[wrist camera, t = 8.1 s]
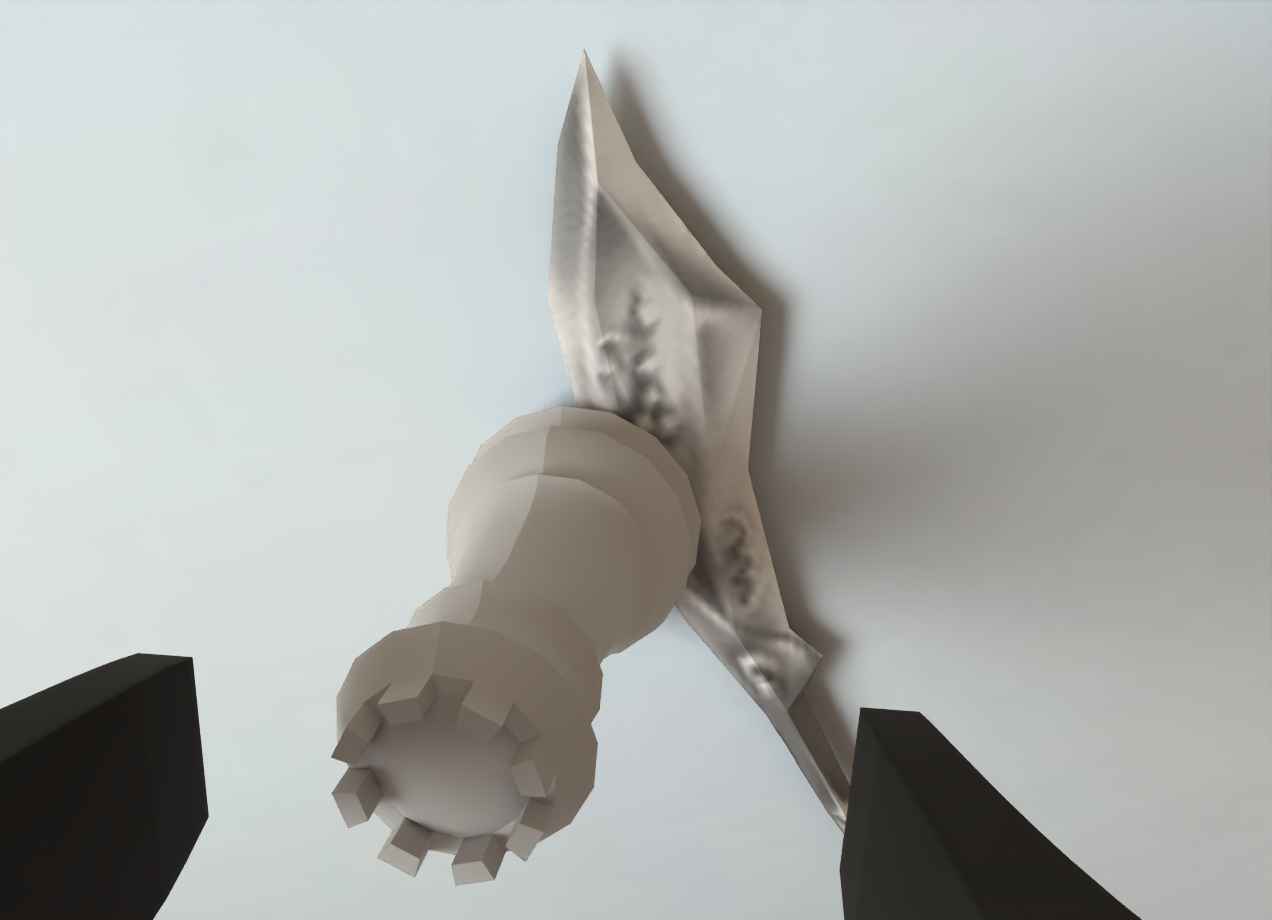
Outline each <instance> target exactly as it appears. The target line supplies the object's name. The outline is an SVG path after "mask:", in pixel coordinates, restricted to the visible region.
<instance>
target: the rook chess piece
mask: <svg viewBox="0 0 1272 920" xmlns="http://www.w3.org/2000/svg"><path fill="white" fill-rule="evenodd" d="M700 525H701V518H700V515H699V512H698V508H697V505H696V502H695V499H694V495H693V492H692V489H691V486H690V482H689V479H688V476H687V474H686V473H685V472H684V471H683V469H682V468H681V467H680V466H679V464H678V463H677V462H676V461H675V460H674V458H673V457H672V456H671V455H670V454H669V452H668V451H667V450H666V449H665V448H664V446H663V445H662V444H661V443H660V442H659V440H658V439H657V438H656V437H655V436H653V435H651V434H649V433H648V432H646V431H644V430H642V429H640V428H639V427H637V426H635V425H633V424H631V423H630V422H628V421H626V420H624V419H622V418H620V417H619V416H617V415H615V414H613V413H611V412H604V411H597V410H589V409H582V408H575V407H567V406H559V407H555V408H552V409H548V410H544V411H540V412H536V413H532V414H529V415H525V416H521V417H517V418H515V419H514V420H513V421H511V422H510V423H509V424H508V425H506V426H505V427H504V428H503V429H501V430H500V431H499V432H498V433H496V434H495V435H494V436H493V437H491V438H490V439H489V440H487V441H486V442H485V443H484V444H482V445H481V446H480V448H479V450H478V452H477V454H476V456H475V458H474V461H473V462H472V463H471V464H470V465H469V466H468V468H467V470H466V472H465V474H464V476H463V478H462V480H461V482H460V484H459V486H458V488H457V490H456V492H455V494H454V496H453V498H452V500H451V502H450V504H449V510H448V526H447V560H448V562H449V565H450V567H451V577H452V581H451V584H450V586H449V587H448V588H445V589H443V590H442V591H440V592H439V593H438V594H436V595H435V596H434V597H432V598H431V599H430V600H428V601H427V602H426V603H424V604H423V605H422V606H420V607H419V608H418V609H416V611H415V613H414V615H413V617H412V619H411V621H410V623H409V624H408V626H407V628H406V629H402V630H397V631H393V632H391V633H390V634H388V635H387V636H385V637H384V638H383V639H381V640H380V641H379V642H377V643H376V644H375V645H373V646H372V647H371V648H369V649H368V650H367V651H365V652H364V653H363V654H361V655H360V656H359V657H357V658H356V659H355V661H354V663H353V665H352V667H351V669H350V671H349V673H348V675H347V677H346V679H345V681H344V683H343V685H342V687H341V690H340V692H339V694H338V696H337V742H338V744H337V746H336V748H335V750H334V752H333V754H332V756H331V758H334V759H337V760H340V761H343V762H346V763H347V765H348V767H349V768H348V770H347V771H346V773H345V774H344V776H343V777H342V779H341V780H340V782H339V783H338V785H337V786H336V788H335V789H334V791H333V792H332V794H333V797H334V799H335V801H336V803H337V805H338V807H339V810H340V812H341V814H342V816H343V818H344V820H345V822H346V825H347V827H348V828H350V827H353V826H355V825H358V824H361V823H363V822H366V821H368V820H369V818H370V817H371V815H372V813H373V812H375V813H376V815H377V816H378V817H379V818H380V819H381V820H382V821H383V822H384V823H385V824H386V825H387V826H388V827H389V828H390V829H391V830H392V832H391V834H390V835H389V837H388V839H387V841H386V843H385V844H384V846H383V848H382V850H381V852H380V853H379V855H378V857H377V858H379V859H381V860H383V861H384V862H386V863H388V864H390V865H392V866H394V867H396V868H398V869H399V870H401V871H403V872H405V873H407V874H409V875H411V876H413V877H414V878H415V876H416V874H417V872H418V870H419V868H420V866H421V864H422V862H423V860H424V858H425V856H426V854H427V852H428V850H431V851H437V852H442V853H447V854H452V855H456V857H455V859H454V861H453V863H452V870H453V875H454V880H455V885H463V884H470V883H477V882H484V881H491V880H495V877H496V875H497V872H498V870H499V867H500V865H501V862H502V860H503V857H504V854H505V852H507V851H512V852H513V853H515V854H516V855H517V856H519V857H520V858H521V859H523V860H524V861H525V862H526V860H527V859H528V857H529V856H530V854H531V852H532V851H533V849H534V848H535V846H536V845H537V843H539V842H540V841H542V840H544V839H545V838H547V837H549V836H550V835H552V834H554V833H555V832H557V831H559V830H560V829H562V828H564V827H565V826H567V825H569V824H570V823H571V822H572V820H573V819H574V817H575V816H576V814H577V813H578V811H579V809H580V808H581V806H582V805H583V803H584V802H585V800H586V799H587V797H588V796H589V794H590V792H591V791H592V789H593V788H594V779H595V768H596V757H597V746H598V742H597V740H596V737H595V734H594V731H593V729H592V726H591V722H592V721H593V719H594V718H595V716H596V714H597V713H598V711H599V709H600V699H601V688H602V677H603V674H602V671H601V668H600V664H601V662H602V661H603V659H604V658H606V657H608V656H609V655H611V654H615V653H620V652H622V651H623V650H625V649H626V648H628V647H629V646H631V645H632V644H634V643H635V642H637V641H638V640H640V639H642V638H643V637H645V636H646V635H648V634H649V633H651V632H652V631H654V630H655V629H656V628H657V627H659V626H660V625H661V624H662V623H663V622H664V620H665V619H666V617H667V615H668V614H669V612H670V611H671V609H672V608H673V606H674V604H675V603H676V601H677V600H678V598H679V596H680V595H681V593H682V592H683V590H684V588H685V587H686V585H687V578H688V575H689V574H690V572H691V571H692V569H693V567H694V566H695V564H696V557H697V549H698V541H699V533H700Z"/></svg>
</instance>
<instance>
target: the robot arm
mask: <svg viewBox="0 0 1272 920" xmlns="http://www.w3.org/2000/svg"><path fill="white" fill-rule="evenodd" d="M208 817H209V815H208V805H207V795H206V785H205V776H204V766H203V756H202V746H201V736H200V727H199V717H198V707H197V697H196V687H195V677H194V668H193V658H192V657H182V656H169V655H156V654H142V653H137V654H134V655H131V656H128V657H125V658H122V659H119V660H116V661H113V662H110V663H108V664H105V665H102V666H100V667H97V668H95V669H92V670H90V671H87V672H85V673H83V674H80V675H78V676H75V677H73V678H71V679H68V680H66V681H64V682H61V683H59V684H57V685H54V686H52V687H50V688H47V689H45V690H43V691H41V692H38V693H36V694H34V695H31V696H29V697H27V698H25V699H22V700H20V701H18V702H15V703H13V704H11V705H9V706H6V707H4V708H2V709H0V920H153V918H154V917H155V915H156V914H157V912H158V911H159V909H160V908H161V906H162V905H163V903H164V902H165V900H166V899H167V897H168V895H169V893H170V891H171V889H172V887H173V886H174V884H175V882H176V880H177V878H178V876H179V875H180V873H181V871H182V869H183V867H184V865H185V863H186V861H187V859H188V857H189V855H190V853H191V851H192V849H193V847H194V845H195V843H196V841H197V839H198V837H199V835H200V833H201V831H202V829H203V827H204V825H205V823H206V821H207V819H208ZM840 878H841V888H842V899H843V909H844V919H845V920H1142V919H1140V918H1139V917H1138V916H1137V915H1135V914H1134V913H1133V912H1132V911H1130V910H1129V909H1128V908H1127V907H1125V906H1124V905H1123V904H1122V903H1120V902H1119V901H1118V900H1117V899H1116V898H1114V897H1113V896H1112V895H1111V894H1110V893H1109V892H1108V891H1106V890H1105V889H1104V888H1103V887H1102V886H1101V885H1099V884H1098V883H1097V882H1096V881H1095V880H1094V879H1092V878H1091V877H1090V876H1089V875H1088V874H1087V873H1085V872H1084V871H1083V870H1082V869H1081V868H1080V867H1078V866H1077V865H1076V864H1075V863H1074V862H1073V861H1071V860H1070V859H1069V858H1068V857H1067V856H1066V855H1065V854H1064V853H1063V852H1061V851H1060V850H1059V849H1058V848H1057V847H1056V846H1055V845H1054V844H1053V843H1052V842H1050V841H1049V840H1048V839H1047V838H1046V837H1045V836H1044V835H1043V834H1042V833H1041V832H1040V831H1039V830H1038V829H1036V828H1035V827H1034V826H1033V825H1032V824H1031V823H1030V822H1029V821H1028V820H1027V819H1026V818H1025V817H1024V816H1023V815H1022V814H1021V813H1020V812H1019V811H1018V810H1017V809H1016V808H1015V807H1013V806H1012V805H1011V804H1010V803H1009V802H1008V801H1007V800H1006V799H1005V798H1004V797H1003V796H1002V795H1001V794H1000V793H999V792H998V791H997V790H996V789H995V788H994V787H993V786H992V785H991V784H990V783H989V782H988V781H987V780H986V779H985V778H984V777H983V776H982V775H981V774H980V773H979V772H978V771H977V770H976V769H975V767H974V766H973V765H972V764H971V763H970V762H969V761H968V760H967V759H966V758H965V757H964V756H963V755H962V754H961V753H960V752H959V751H958V750H957V749H956V748H955V747H954V746H953V745H952V744H951V743H950V742H949V741H948V740H947V739H946V738H945V737H944V736H943V735H942V734H941V733H940V732H939V730H938V729H937V728H936V727H935V726H934V725H933V724H932V723H931V722H930V721H929V720H927V719H926V718H925V717H924V716H923V715H922V714H921V713H920V712H914V711H901V710H888V709H874V708H861V707H860V715H859V723H858V731H857V739H856V746H855V754H854V762H853V770H852V777H851V785H850V793H849V801H848V809H847V816H846V824H845V832H844V840H843V847H842V855H841V863H840Z"/></svg>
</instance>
